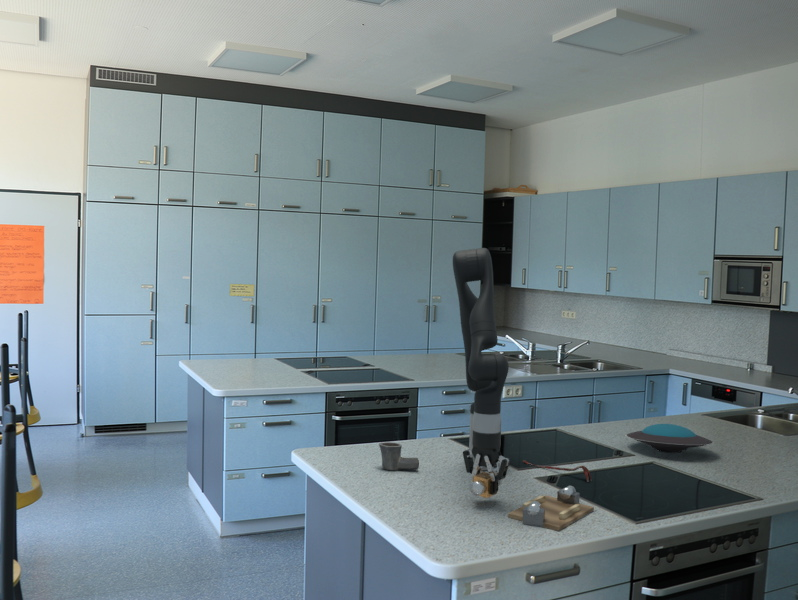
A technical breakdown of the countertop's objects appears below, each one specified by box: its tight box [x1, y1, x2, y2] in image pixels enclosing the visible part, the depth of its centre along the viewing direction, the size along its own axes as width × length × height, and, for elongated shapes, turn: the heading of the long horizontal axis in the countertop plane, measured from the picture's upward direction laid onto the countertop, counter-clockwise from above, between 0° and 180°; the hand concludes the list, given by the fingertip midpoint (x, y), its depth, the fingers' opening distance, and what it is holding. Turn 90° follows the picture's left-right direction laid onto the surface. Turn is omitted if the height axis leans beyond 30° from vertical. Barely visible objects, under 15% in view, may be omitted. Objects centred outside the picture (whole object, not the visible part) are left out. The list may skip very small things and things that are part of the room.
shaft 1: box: [522, 501, 545, 528], centre depth 170 cm, size 4×5×5 cm
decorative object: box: [624, 423, 714, 454], centre depth 245 cm, size 29×29×10 cm
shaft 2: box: [556, 485, 581, 505], centre depth 184 cm, size 4×5×5 cm
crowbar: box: [522, 459, 593, 483], centre depth 216 cm, size 26×2×5 cm, turn 38°
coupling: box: [469, 471, 502, 499], centre depth 184 cm, size 10×4×5 cm, turn 141°
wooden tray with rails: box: [507, 494, 595, 532], centre depth 177 cm, size 20×14×2 cm
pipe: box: [378, 441, 420, 471], centre depth 214 cm, size 6×13×8 cm, turn 79°
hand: (485, 491), depth 184 cm, fingers closed on coupling, 4 cm apart
